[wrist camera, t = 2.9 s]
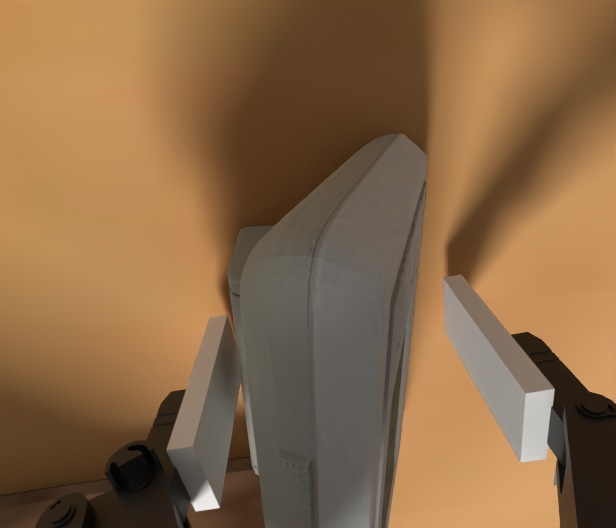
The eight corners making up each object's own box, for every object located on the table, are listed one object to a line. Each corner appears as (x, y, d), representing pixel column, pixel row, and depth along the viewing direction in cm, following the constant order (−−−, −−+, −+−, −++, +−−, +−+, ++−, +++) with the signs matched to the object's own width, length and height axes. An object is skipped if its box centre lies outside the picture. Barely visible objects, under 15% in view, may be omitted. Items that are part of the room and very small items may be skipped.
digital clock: (384, 446, 22) (454, 734, 13) (218, 430, 21) (157, 729, 12) (492, 146, 15) (830, 278, 6) (253, 102, 14) (177, 174, 5)
